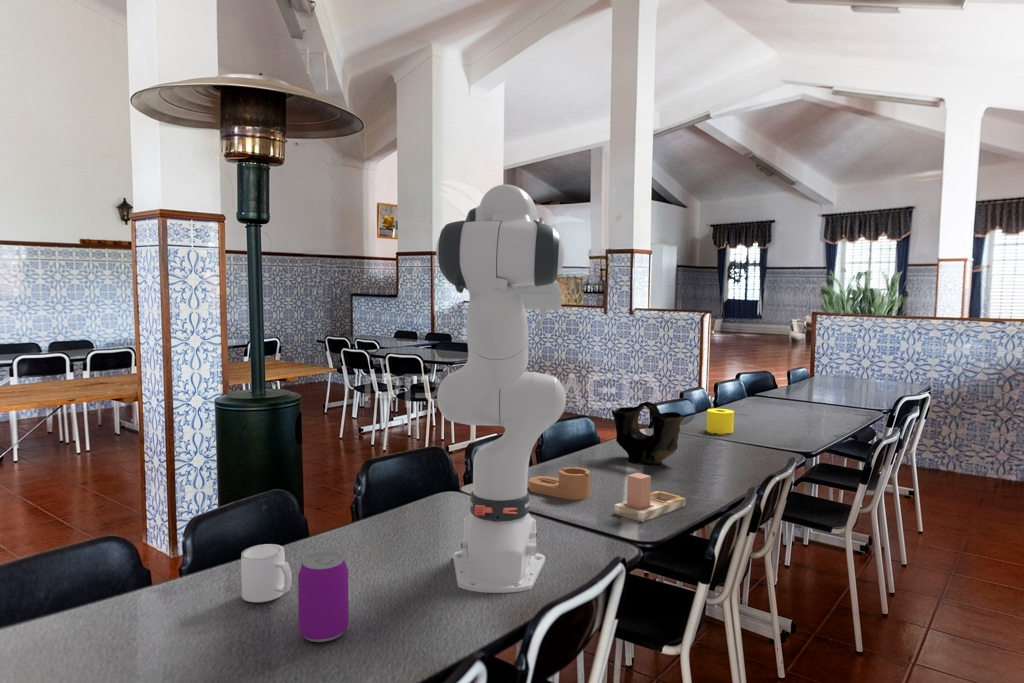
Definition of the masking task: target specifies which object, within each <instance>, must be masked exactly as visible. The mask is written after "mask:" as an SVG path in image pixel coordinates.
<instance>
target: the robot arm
mask: <svg viewBox="0 0 1024 683" xmlns="http://www.w3.org/2000/svg"><path fill="white" fill-rule="evenodd" d="M537 209H538V208H537V207H536V204H535V202H534V200H533V199H532V197H531V196H530V195H529V194H528V192H526V190H523V189H522V188H521V187H518V186H516V185H513V184H498V185H495V186H493V187H492V188H490V189H489V190H487V192H486V193H485V194H484V195H483V197H482V198H481V201H480V203H479V205H478V206H476V207H474V208H471V209H469V211H468V212H467V215H466V218H465V219H464V220H457V221H452V222H449V223H446V224H445V225H444V227H443V228H442V229H441V230H440V232H439V233H440V234H439V237H438V239H437V243H436V248H435V249H436V250H435V254H436V260H437V263H438V267H439V271H440V273H441V274H442V276H443V277H444V278H445V279H446V280H447V281H448V282H449V283H450V284H452V285H453V286H454V287H455V291H456V292H457V293H458V294H459V293H460V294H463V291H464V289H465V290H467V291H468V294H469V300H468V307H467V315H466V340H467V341H466V342H467V352H468V353H467V354H468V356H467V361H466V363H465V364H464V365H463V366H462V367H460V368H459V369H458V370H455V371H453V372H451V373H448V374H447V375H446V376H445V377H444V378H443V379H442V381H441V382H440V384H439V387H438V389H437V395H436V400H437V401H436V402H437V406H438V410H439V411H440V413H441V415H442V416H443V418H444V419H445V420H446V421H449V422H454V423H456V424H463V425H466V426H467V425H468V426H486V427H487V426H489V427H490V426H491V427H492V426H493V427H495V426H496V427H502V428H504V429H505V430H504V433H503V434H502V436H500V437H498V438H497V439H495V440H492V441H490V442H488V443H485V445H482V446H481V447H480V448H479V449H478V450H477V451H476V452H475V454H474V456H473V462H472V463H473V464H472V466H473V468H472V469H473V470H472V475H473V476H472V491H471V492H470V498H469V504H470V505H469V506H470V508H469V509H470V510H469V511H470V512H469V513H468V515H466V516H465V517H464V518H463V541H462V542H460V548H461V550H458V551H455V552H454V553H453V557H452V560H453V566H454V572H455V573H454V574H455V579H456V585H457V587H458V588H460V589H463V590H467V591H469V592H477V593H489V594H490V593H494V594H496V593H497V594H503V593H504V594H505V593H507V594H509V593H519V592H525V591H528V590H531V589H532V588H533V587H534V585H535V583H536V580H537V578H538V576H539V574H540V572H541V570H542V568H543V567H544V564H545V562H546V556H545V555H544V554H542V553H540V552H538V545H537V538H538V531H537V520H536V519H535V518H534V517H533V516H531V514H530V513H529V512H530V504H531V502H530V501H531V499H530V493H529V491H528V480H529V479H528V477H529V475H528V474H529V466H530V458H531V454H532V450H533V449H534V446H535V444H536V442H537V441H538V440H539V438H540V437H541V435H542V434H543V433H544V432H545V431H546V430H547V429H548V428H550V427H551V426H552V425H554V424H555V423H556V422H557V421H558V420H560V418H561V416H562V415H563V413H564V410H565V408H566V403H567V402H566V401H567V397H566V391H565V389H564V386H563V384H562V382H561V381H560V380H559V378H557V377H556V376H554V375H551V374H546V373H541V372H536V371H526V369H527V367H528V365H529V325H528V324H529V323H528V316H527V312H526V310H527V311H528V310H529V311H531V310H532V311H535V310H537V311H539V310H540V311H539V312H540V315H541V317H540V318H539V319H538V320H537V321H535V329H538V330H540V329H543V321H544V319H545V318H546V316H547V313H548V311H558V310H560V309H561V307H562V295H561V287H560V284H559V282H558V281H557V280H558V277H559V274H560V273H561V271H562V269H563V266H564V262H565V248H564V245H563V242H562V239H561V238H560V237H561V235H560V233H559V232H558V231H557V230H556V229H555V228H554V227H553V226H551V225H549V224H547V223H545V222H544V218H543V217H540V216H539V217H538V210H537Z"/></svg>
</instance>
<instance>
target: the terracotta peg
mask: <svg viewBox="0 0 1024 683" xmlns="http://www.w3.org/2000/svg"><path fill="white" fill-rule="evenodd" d="M651 486H652V476H651V475H648V474H645V473H641V472H635V473H631V474H628V475H627V486H626V487H627V490H626V493H627V494H626V495H627V496H626V501H627V507H630V508H634V509H637V510H640V511H642V510H644V509H647V508H650V494H651V492H652V491H651V490H652V487H651Z"/></svg>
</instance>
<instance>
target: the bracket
mask: <svg viewBox="0 0 1024 683" xmlns="http://www.w3.org/2000/svg"><path fill="white" fill-rule="evenodd" d="M590 488H591V470H589V469H587V468H583V467H575V466H573V467H572V466H570V467H569V466H568V467H562V468H561V469H558V477H554V476H548V475H538V476H532V477H530V478H529V479H528V490H529V491H530V492H532V493H537V494H540V495H544V496H546V495H547V496H551V497H555V498H560V499H565V500H571V501H579V500H580V501H581V500H585V499H586V500H587V499H589V498H590V492H591V489H590Z"/></svg>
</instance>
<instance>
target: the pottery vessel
mask: <svg viewBox="0 0 1024 683" xmlns="http://www.w3.org/2000/svg"><path fill="white" fill-rule="evenodd" d="M645 407H646V408H647V409H648V411H649V412H650V417H651V420H652V425H653V427H652V428H653V429H652V430H653V433H652V434H651V435H647V434H645V433H643V432H642V431H640V426H639V417H640V414H641V412H642V410H644V408H645ZM611 414H612V416H613V420H614V424H615V426H614V427H615V431H616V437H615V438H616V439H615V442H616V443H617V444H618V445H619V447H621V448H622V450H624V452H626V454H627V462H628V463H629V464H630V463H631V464H635V465H641V464H652V465H655V464H657V465H658V464H659V465H662V464H663V460H665V459H667V458H668V457H670V456H672V455H673V454H674V453H675V452H676V450H677V449H678V441H679V434H680V433H681V432H680V431H681V429H680V428H681V422H682V421H683V420H685V416H684V415H682V414H681V413H679V412H673V411H671V412H670V411H669V412H662V413H661V411H660V409H659V408H658V406H657V405H656V404H654V403H653V402H651V401H644V402H641V403H639V404H638V405H637V406H636V405H635V406H626V407H625V406H623V407H620V408H618V409H614V410H613V409H612V411H611ZM659 465H658V466H659Z"/></svg>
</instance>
